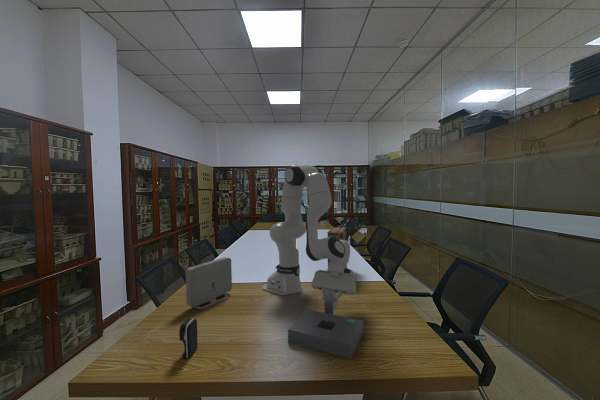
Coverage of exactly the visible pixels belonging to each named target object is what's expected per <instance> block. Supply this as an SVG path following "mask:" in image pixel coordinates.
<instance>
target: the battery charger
mask: <svg viewBox="0 0 600 400" xmlns="http://www.w3.org/2000/svg"><path fill="white" fill-rule="evenodd" d="M178 336H179V337H178V338H179V341H181V342H182V343H183V344H184V346H183V347H184V352H183V353H182V355H181V356H182V358H183V359H185V358H186V359H189V358H191V357H192V356H193V354H194V353H195V351H196V350H197V349H198V345H199V344H198V343H199V342H198V320H197V318H187V319H186V320H185V321H183V322H182V324H181V325H180V326H179V334H178Z"/></svg>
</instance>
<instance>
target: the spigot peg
mask: <svg viewBox="0 0 600 400" xmlns="http://www.w3.org/2000/svg"><path fill="white" fill-rule="evenodd" d="M336 296H337V292H336V290H333V289H327V290H326V291H325V292H324V300H323V301H324V304H323V305H324V313H327V314H333V315H337V302H334V297H336Z"/></svg>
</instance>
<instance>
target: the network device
mask: <svg viewBox="0 0 600 400" xmlns="http://www.w3.org/2000/svg"><path fill="white" fill-rule="evenodd" d="M232 272H233V271H232V258H231V257H225V256H224V257H223V256H222V257H220V258H217V259H214V260H209V261H207V262H203V263H200V264H197V265H196V264H195V265H193V266H190V267H187V268H186V269H185V286H186V287H185V288H186V289H185V292H186V293H185V294H186V305H187V306H190V307H192V308H194V309H198V310H203V309H206V308H208V307H210V306H212V305H215V304H217V303H219V302H221V301H223V300H226V299H227V298H228V297H229V295H228V293H229V292H231V291H232V289H233V274H232ZM220 296H223V297H222V298H219V299H217V297H220ZM206 302H207V303H208V304H205V305H204V306H199V305H201V304H204V303H206Z"/></svg>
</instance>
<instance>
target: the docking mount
mask: <svg viewBox="0 0 600 400" xmlns="http://www.w3.org/2000/svg"><path fill="white" fill-rule="evenodd" d="M363 334H364V320H363V319H362V320H361V319H358V318H352V317H347V316H342V315H337V314H336V315H333V314H327V313H325V312H322V311H316V310H313V309H306V311H304V312H303V313H302V314H301V315H300V317H298V319H296V321H295V322H294V323H293V324H291V326H289V328H287V342H288V343H289V344H293V345H297V346H299V347H304V348H308V349H311V350H316V351H320V352H324V353H326V354H330V355H334V356H338V357H342V358H346V359H350V360H352V358H353V356H354V354H355V352H356V349H357V347H358V345H359V343H360V341H361V339H362V337H363Z"/></svg>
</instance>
